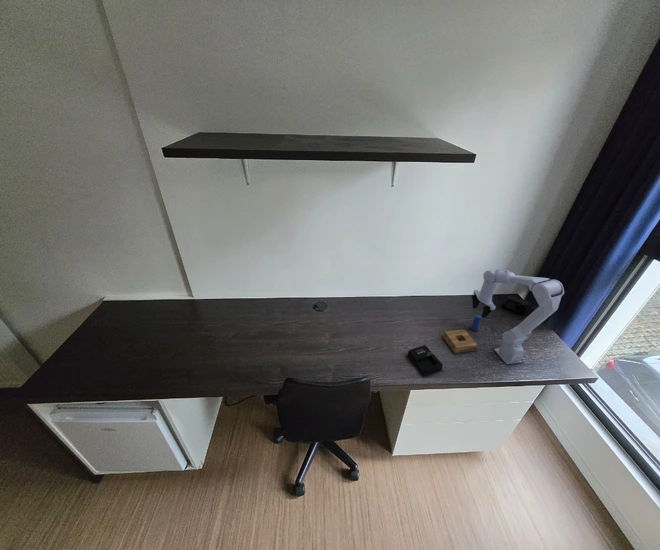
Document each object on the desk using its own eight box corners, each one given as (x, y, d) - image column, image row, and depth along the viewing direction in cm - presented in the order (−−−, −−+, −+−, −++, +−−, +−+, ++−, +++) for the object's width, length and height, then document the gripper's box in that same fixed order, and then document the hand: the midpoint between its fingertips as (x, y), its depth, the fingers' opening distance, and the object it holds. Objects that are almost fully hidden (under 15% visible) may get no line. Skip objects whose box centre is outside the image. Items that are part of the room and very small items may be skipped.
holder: (475, 350, 142) (477, 344, 140) (454, 353, 140) (456, 347, 138) (462, 334, 151) (464, 329, 149) (443, 337, 150) (444, 331, 147)
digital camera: (503, 309, 170) (507, 299, 166) (504, 304, 174) (508, 295, 170) (523, 315, 165) (528, 306, 161) (524, 310, 169) (528, 301, 165)
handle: (477, 330, 154) (482, 317, 149) (473, 331, 154) (477, 318, 149) (474, 327, 157) (479, 314, 152) (470, 327, 156) (474, 314, 151)
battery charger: (407, 355, 139) (408, 349, 137) (423, 350, 142) (425, 344, 140) (423, 376, 129) (425, 370, 126) (441, 370, 132) (443, 364, 130)
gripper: (504, 298, 138) (495, 320, 146) (484, 282, 150) (477, 303, 158) (491, 300, 137) (483, 322, 144) (472, 283, 149) (465, 304, 156)
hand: (479, 312), depth 151 cm, fingers open, 7 cm apart
